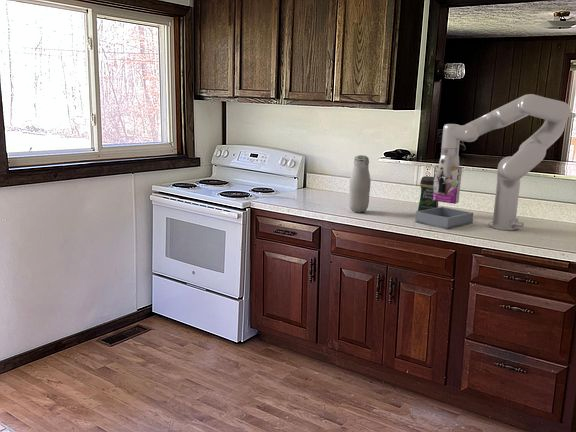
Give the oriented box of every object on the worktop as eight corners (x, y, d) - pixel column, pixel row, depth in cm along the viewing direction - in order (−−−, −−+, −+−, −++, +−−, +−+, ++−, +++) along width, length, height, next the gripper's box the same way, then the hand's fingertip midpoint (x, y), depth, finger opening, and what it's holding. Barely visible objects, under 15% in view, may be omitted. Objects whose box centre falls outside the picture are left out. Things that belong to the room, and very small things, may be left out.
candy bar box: (431, 201, 252) (434, 165, 249) (434, 199, 256) (438, 164, 253) (455, 204, 246) (459, 167, 243) (459, 202, 250) (462, 166, 247)
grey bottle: (346, 213, 270) (349, 155, 264) (350, 209, 279) (353, 153, 273) (366, 214, 267) (369, 156, 261) (370, 210, 276) (373, 154, 270)
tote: (472, 223, 253) (473, 212, 252) (447, 229, 241) (448, 218, 240) (440, 216, 266) (441, 206, 265) (415, 222, 253) (416, 211, 252)
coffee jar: (416, 214, 270) (419, 176, 266) (419, 211, 277) (422, 174, 273) (436, 216, 266) (439, 178, 262) (439, 213, 273) (442, 176, 269)
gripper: (445, 153, 238) (442, 194, 242) (468, 152, 249) (464, 191, 253) (431, 152, 244) (427, 192, 248) (453, 150, 255) (449, 188, 259)
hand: (446, 191), depth 250 cm, fingers closed on candy bar box, 6 cm apart
